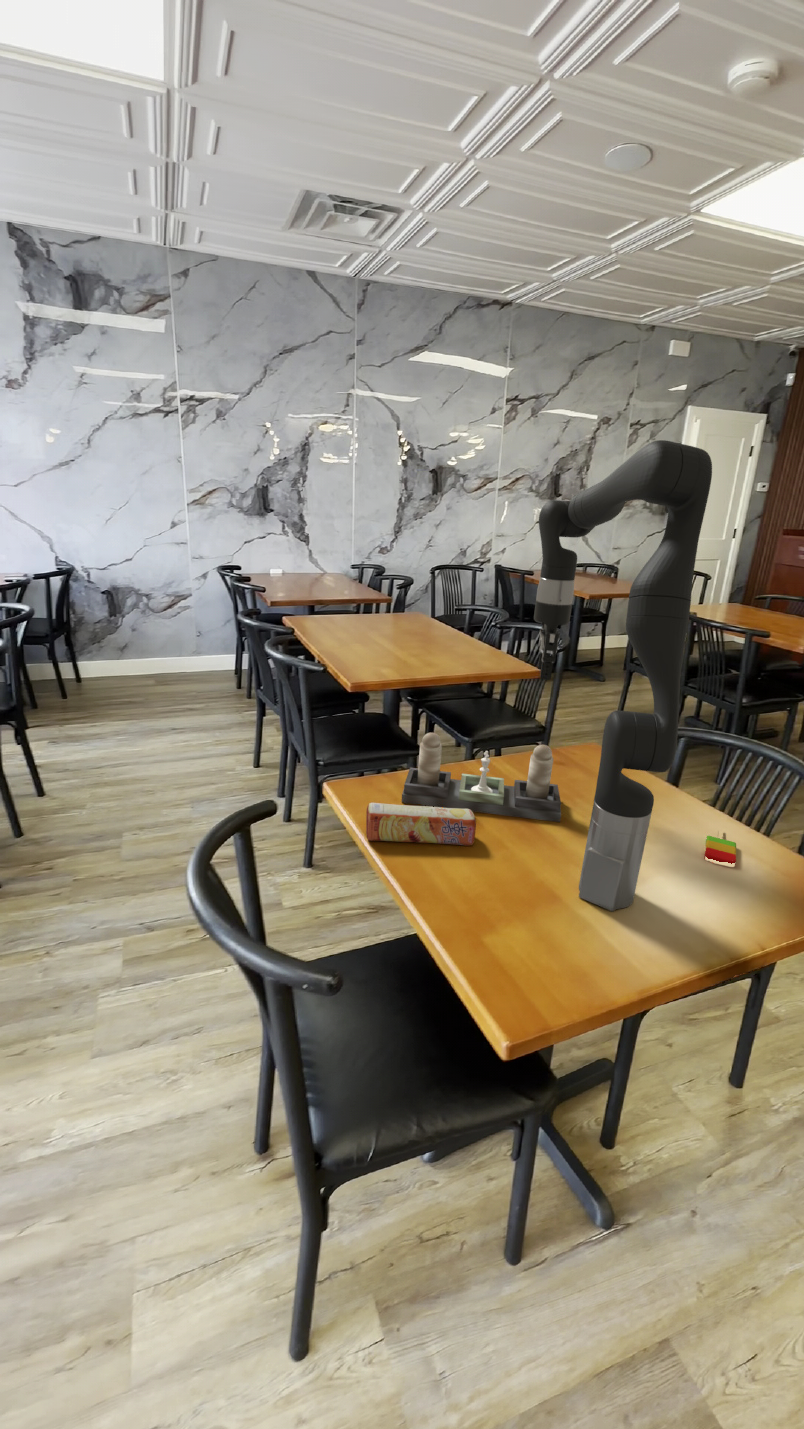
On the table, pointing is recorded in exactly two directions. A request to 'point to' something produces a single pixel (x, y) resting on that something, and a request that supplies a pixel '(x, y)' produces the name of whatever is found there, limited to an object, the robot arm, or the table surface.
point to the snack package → (420, 824)
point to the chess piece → (483, 776)
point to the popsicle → (720, 850)
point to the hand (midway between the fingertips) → (544, 674)
